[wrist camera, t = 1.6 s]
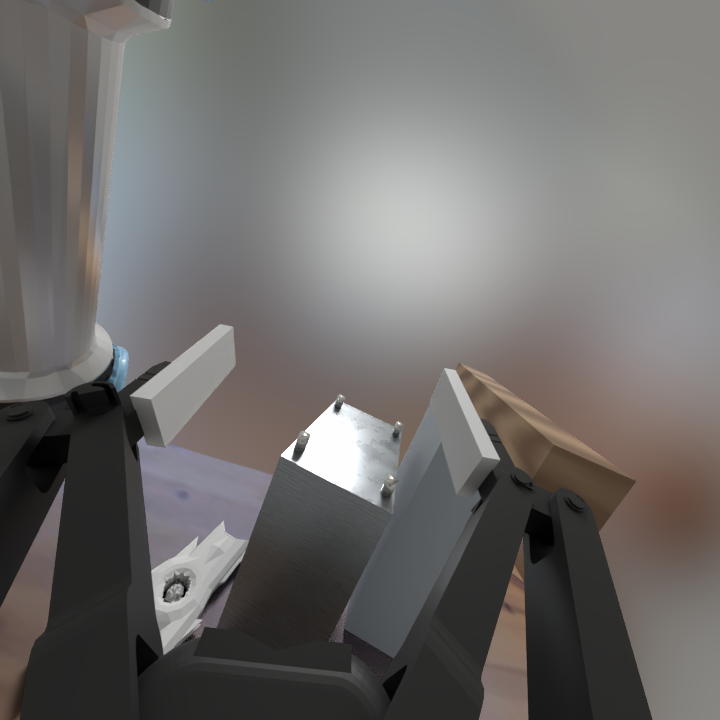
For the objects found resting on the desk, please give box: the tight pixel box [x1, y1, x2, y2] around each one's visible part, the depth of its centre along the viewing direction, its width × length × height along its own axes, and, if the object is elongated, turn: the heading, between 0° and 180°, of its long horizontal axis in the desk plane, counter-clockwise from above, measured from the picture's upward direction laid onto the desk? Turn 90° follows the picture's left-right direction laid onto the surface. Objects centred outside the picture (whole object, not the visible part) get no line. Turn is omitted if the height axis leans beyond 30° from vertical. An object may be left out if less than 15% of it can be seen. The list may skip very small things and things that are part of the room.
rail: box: [456, 363, 636, 532], centre depth 27 cm, size 28×4×5 cm, turn 168°
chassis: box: [217, 395, 404, 650], centre depth 31 cm, size 10×16×26 cm, turn 168°
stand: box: [344, 404, 481, 658], centre depth 35 cm, size 7×14×30 cm, turn 168°
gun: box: [151, 520, 249, 655], centre depth 28 cm, size 18×4×10 cm
